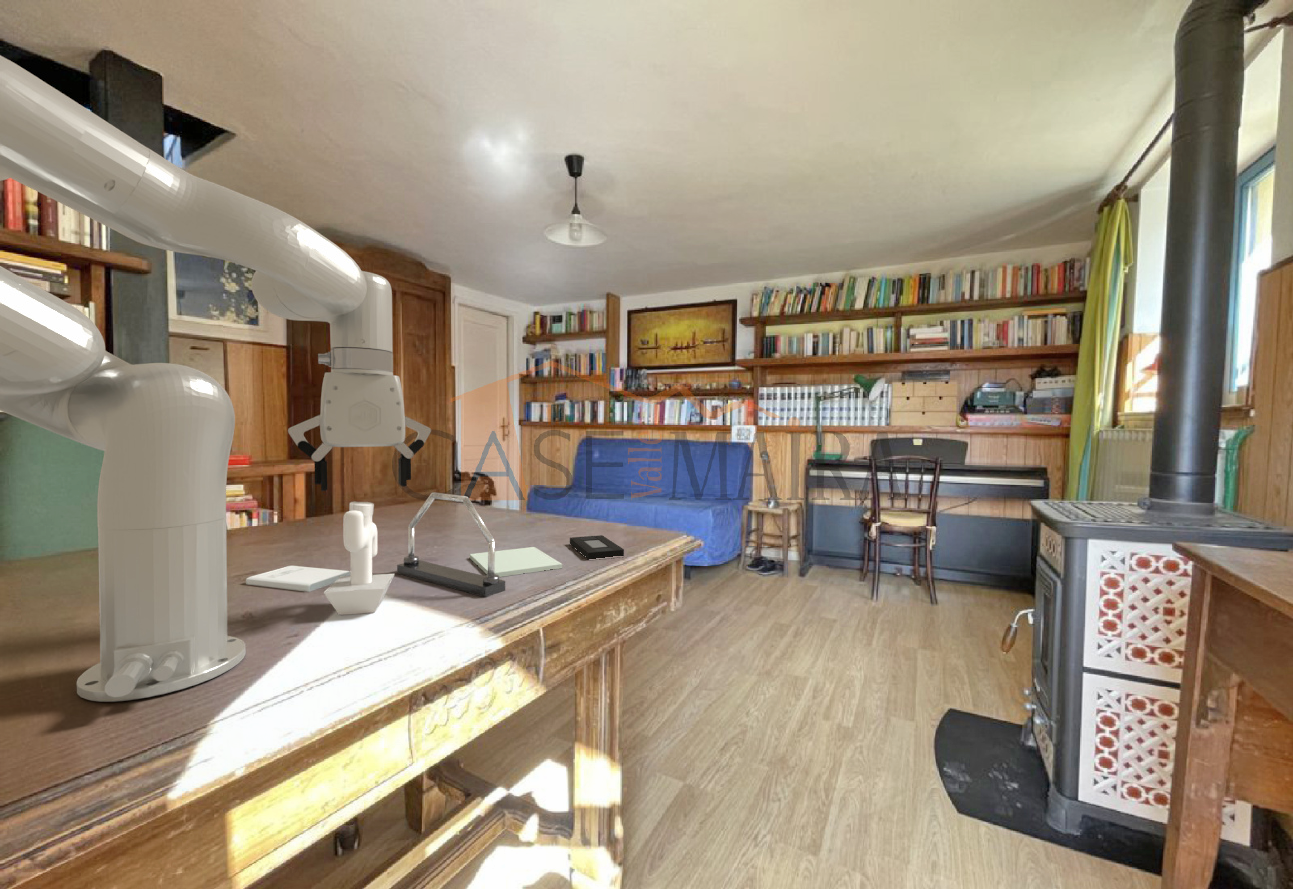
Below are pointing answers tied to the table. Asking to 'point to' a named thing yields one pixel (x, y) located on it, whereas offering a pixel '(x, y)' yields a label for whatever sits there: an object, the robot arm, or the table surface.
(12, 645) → the table surface
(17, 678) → the table surface
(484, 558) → the mat
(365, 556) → the figurine
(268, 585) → the external hard drive
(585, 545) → the vhs tape
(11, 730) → the table surface
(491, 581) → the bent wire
